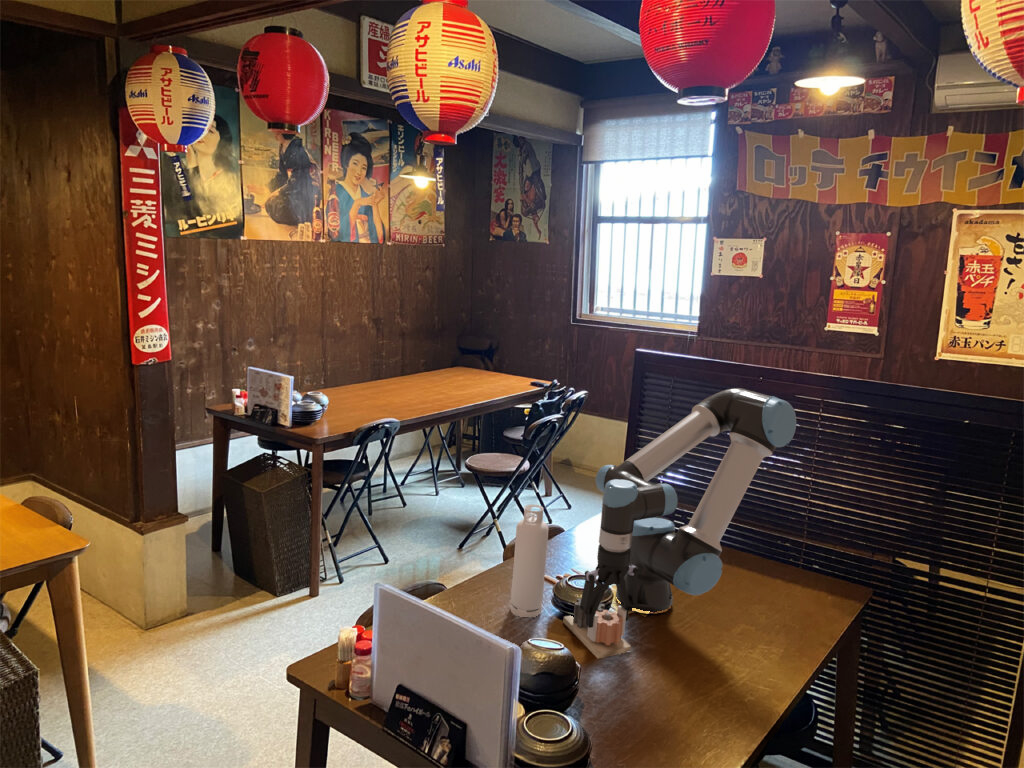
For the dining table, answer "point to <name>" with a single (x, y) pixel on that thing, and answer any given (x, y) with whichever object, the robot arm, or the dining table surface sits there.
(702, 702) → the dining table surface
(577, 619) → the gear board
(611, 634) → the gear
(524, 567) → the bottle
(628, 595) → the robot arm
